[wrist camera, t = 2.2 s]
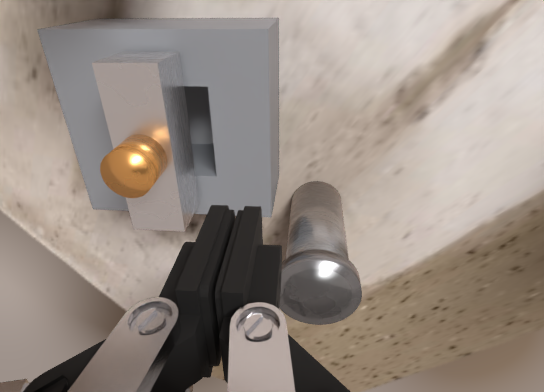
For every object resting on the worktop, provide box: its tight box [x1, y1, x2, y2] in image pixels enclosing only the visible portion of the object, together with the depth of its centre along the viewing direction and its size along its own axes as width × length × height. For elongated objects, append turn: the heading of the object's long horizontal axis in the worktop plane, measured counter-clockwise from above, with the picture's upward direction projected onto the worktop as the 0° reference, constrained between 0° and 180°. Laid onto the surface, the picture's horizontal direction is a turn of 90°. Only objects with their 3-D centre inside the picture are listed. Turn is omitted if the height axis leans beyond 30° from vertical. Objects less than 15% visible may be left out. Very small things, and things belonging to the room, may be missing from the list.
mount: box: [37, 18, 279, 217], centre depth 24 cm, size 12×11×6 cm
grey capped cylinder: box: [279, 181, 362, 325], centre depth 25 cm, size 5×5×10 cm
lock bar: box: [92, 51, 200, 232], centre depth 19 cm, size 3×9×5 cm, turn 1°
